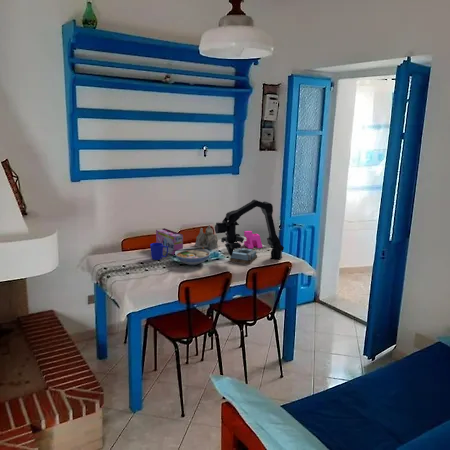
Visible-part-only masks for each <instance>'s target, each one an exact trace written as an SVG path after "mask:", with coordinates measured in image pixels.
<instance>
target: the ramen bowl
mask: <svg viewBox="0 0 450 450" xmlns="http://www.w3.org/2000/svg"><path fill="white" fill-rule="evenodd" d="M210 250H211V249H210V248H209V247H183V249H180V250H172V251H176V252H175V255H174V256H175V257H176V258H177V260H179V261H180V262H181V263H183V264H186V265H188V266H196V265H199V264H202V263H204V262H205V261H207V260H208V259H209V256H210V255H211V251H210Z"/></svg>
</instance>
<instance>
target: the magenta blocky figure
mask: <svg viewBox="0 0 450 450" xmlns="http://www.w3.org/2000/svg"><path fill="white" fill-rule="evenodd" d="M243 233H244V234H243V236H244V237H245V238H246V239H245V240H243V245H244V246H245V247H246V249H252V250H253V249H254V248H255V247H256V248H257V249H263V244H262V239H261V235H260V234H258V233H253V231H252V230H244V231H243Z"/></svg>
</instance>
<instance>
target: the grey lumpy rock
mask: <svg viewBox="0 0 450 450" xmlns="http://www.w3.org/2000/svg"><path fill="white" fill-rule="evenodd" d="M195 238H196V240H195V243H194V246H195V247H196V248H201V247H209V248H210V249H209V250H213V249H218V248H219V244H218V241H219V239H218V235H217V234H216V233H214V230H213V228H211V225H210V224H208V226H207V228H205V232H204V228H202V227H201V228H200V229H199V233H198V234H197V236H196V237H195Z"/></svg>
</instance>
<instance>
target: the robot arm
mask: <svg viewBox="0 0 450 450" xmlns="http://www.w3.org/2000/svg"><path fill="white" fill-rule="evenodd" d="M255 208H260V209H261V212H262V213H263V215H264V218H265V223H266V227H267V231H268V237H267V238H266V240H267V245H268V246H270V248H271V250H270V259H272V260H278V261H280V260H281V259H282V258H283V256H282V255H283V251H284V249H285V247H284V246H283V245H282V243H281V240H280V237H278V236H277V231H276V227H275V223H274V219H273V213H274V209H273V208H274V206H273V204H272V203H270V202H268V201H260V200H257V199H252V200H251V201H249V202H248V203H246V204H245V205H243V206H241V207H240V208H237V209H233V210H231V211H228V212H227V213H225V217H224V218H223V220H222V222H216V223H215V225H214V232H215V235H217V234H225V236H224V237H221V240H220V241H221V243H224V242H225V244H224V246H225V248H226V251H227V252H228V255H229V256H230V257H231V256H232V253H233V251H234V250H235V249H242V244H240V243H243V244H244V241H245V238H244V237H243V236H241V234H240V233H236V229H237V227H236V226H239V225H240V224H239V223H238V222H237V221H238V220H240V218H241V217H242V216H243V215H245V214H247V213H248V212H250V211H252V210H253V209H255Z"/></svg>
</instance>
